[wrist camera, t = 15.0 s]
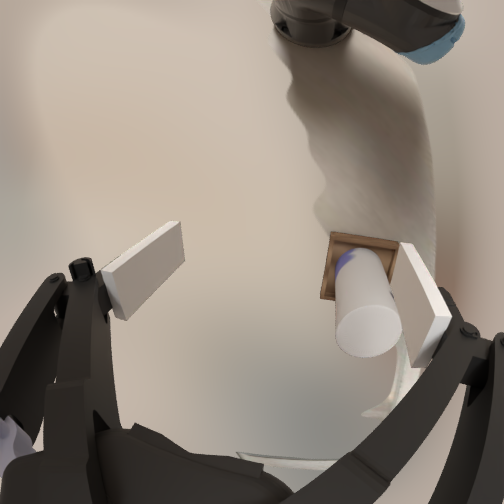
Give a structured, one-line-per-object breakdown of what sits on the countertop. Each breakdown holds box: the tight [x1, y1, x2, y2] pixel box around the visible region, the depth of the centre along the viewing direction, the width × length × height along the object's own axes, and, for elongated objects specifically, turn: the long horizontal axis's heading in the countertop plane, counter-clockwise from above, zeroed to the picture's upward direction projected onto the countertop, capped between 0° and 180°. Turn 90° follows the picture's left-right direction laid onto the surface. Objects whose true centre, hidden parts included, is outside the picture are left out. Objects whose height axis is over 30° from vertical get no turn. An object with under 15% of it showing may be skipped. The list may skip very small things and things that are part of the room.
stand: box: [320, 232, 400, 301], centre depth 52 cm, size 14×14×2 cm
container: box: [335, 248, 402, 358], centre depth 44 cm, size 10×10×20 cm
